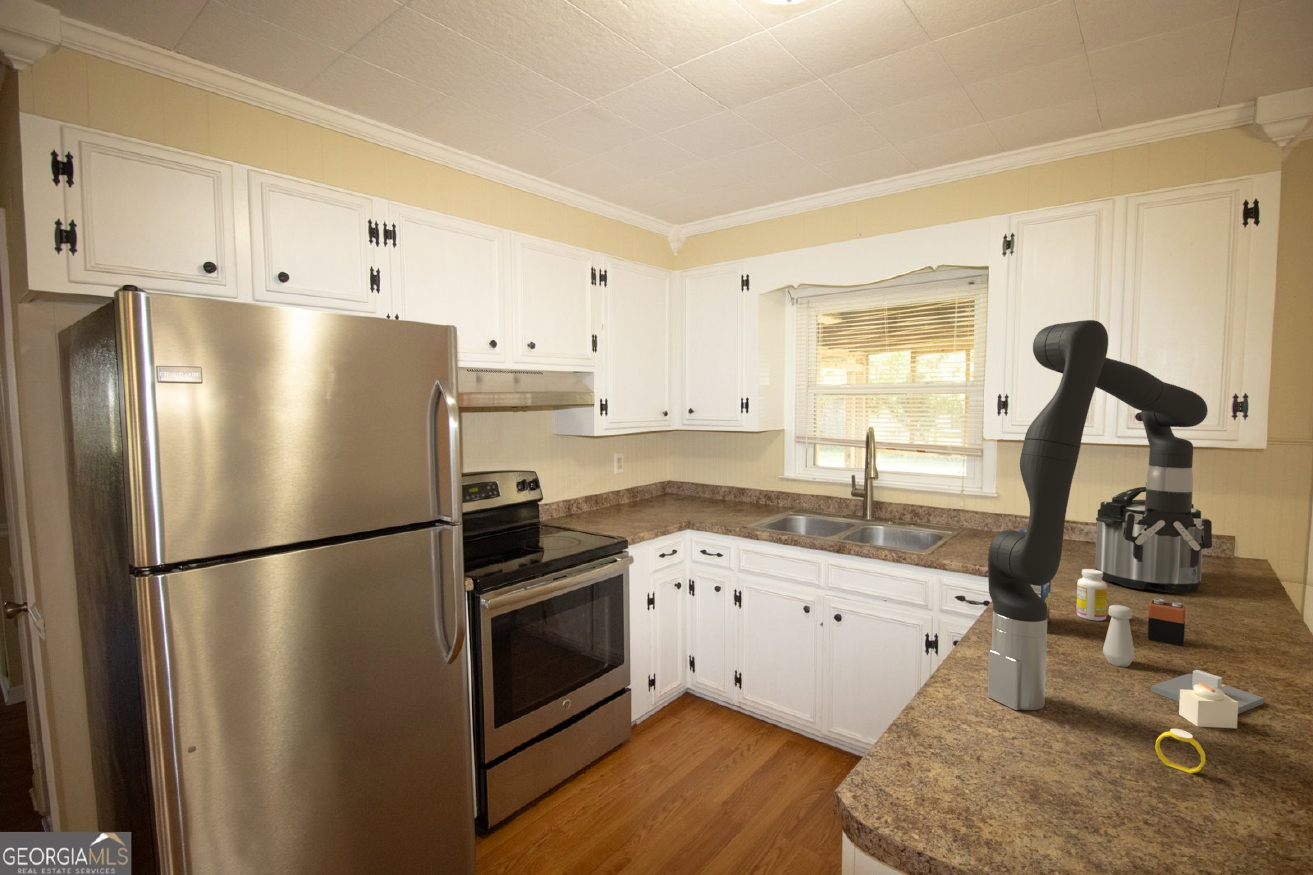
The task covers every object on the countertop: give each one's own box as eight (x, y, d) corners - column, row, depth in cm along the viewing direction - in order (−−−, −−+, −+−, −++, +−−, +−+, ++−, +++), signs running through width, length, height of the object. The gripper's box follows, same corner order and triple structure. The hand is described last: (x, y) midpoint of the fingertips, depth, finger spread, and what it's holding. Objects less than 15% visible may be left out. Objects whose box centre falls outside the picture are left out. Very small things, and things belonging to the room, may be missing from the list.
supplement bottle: (1107, 617, 168) (1109, 570, 167) (1104, 623, 163) (1105, 575, 162) (1078, 611, 172) (1080, 566, 171) (1074, 617, 167) (1075, 571, 167)
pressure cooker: (1189, 578, 205) (1194, 484, 204) (1221, 602, 180) (1226, 495, 178) (1082, 567, 219) (1085, 479, 217) (1098, 588, 194) (1101, 489, 192)
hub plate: (1225, 719, 113) (1226, 694, 113) (1151, 691, 124) (1152, 668, 124) (1263, 703, 119) (1264, 680, 118) (1189, 678, 130) (1190, 657, 129)
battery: (1148, 635, 154) (1150, 596, 154) (1184, 641, 150) (1185, 601, 149) (1147, 639, 151) (1149, 600, 151) (1183, 647, 147) (1185, 606, 146)
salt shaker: (1103, 655, 142) (1105, 600, 141) (1134, 662, 138) (1137, 605, 137) (1101, 663, 137) (1103, 607, 136) (1134, 670, 134) (1136, 612, 133)
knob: (1237, 728, 110) (1238, 693, 109) (1197, 726, 110) (1198, 691, 110) (1217, 716, 114) (1218, 682, 114) (1178, 714, 115) (1180, 681, 114)
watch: (1204, 774, 97) (1209, 739, 96) (1200, 781, 95) (1206, 745, 94) (1156, 755, 101) (1160, 721, 100) (1152, 762, 99) (1157, 727, 99)
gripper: (1130, 487, 129) (1125, 563, 129) (1219, 493, 122) (1214, 573, 122) (1123, 483, 135) (1119, 556, 136) (1207, 489, 128) (1203, 565, 129)
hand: (1164, 564), depth 129 cm, fingers open, 8 cm apart
